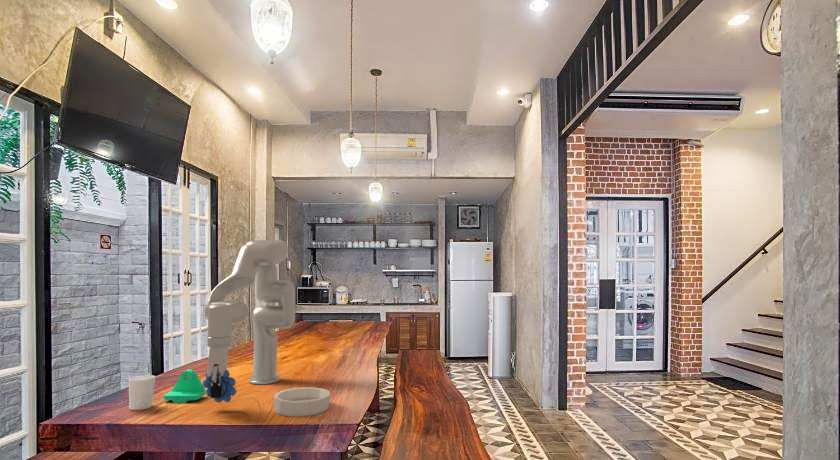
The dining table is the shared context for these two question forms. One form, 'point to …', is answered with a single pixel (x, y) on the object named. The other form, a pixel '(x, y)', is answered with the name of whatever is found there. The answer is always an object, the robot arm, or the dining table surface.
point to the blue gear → (226, 388)
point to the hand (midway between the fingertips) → (218, 393)
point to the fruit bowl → (301, 402)
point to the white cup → (141, 392)
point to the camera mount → (186, 388)
